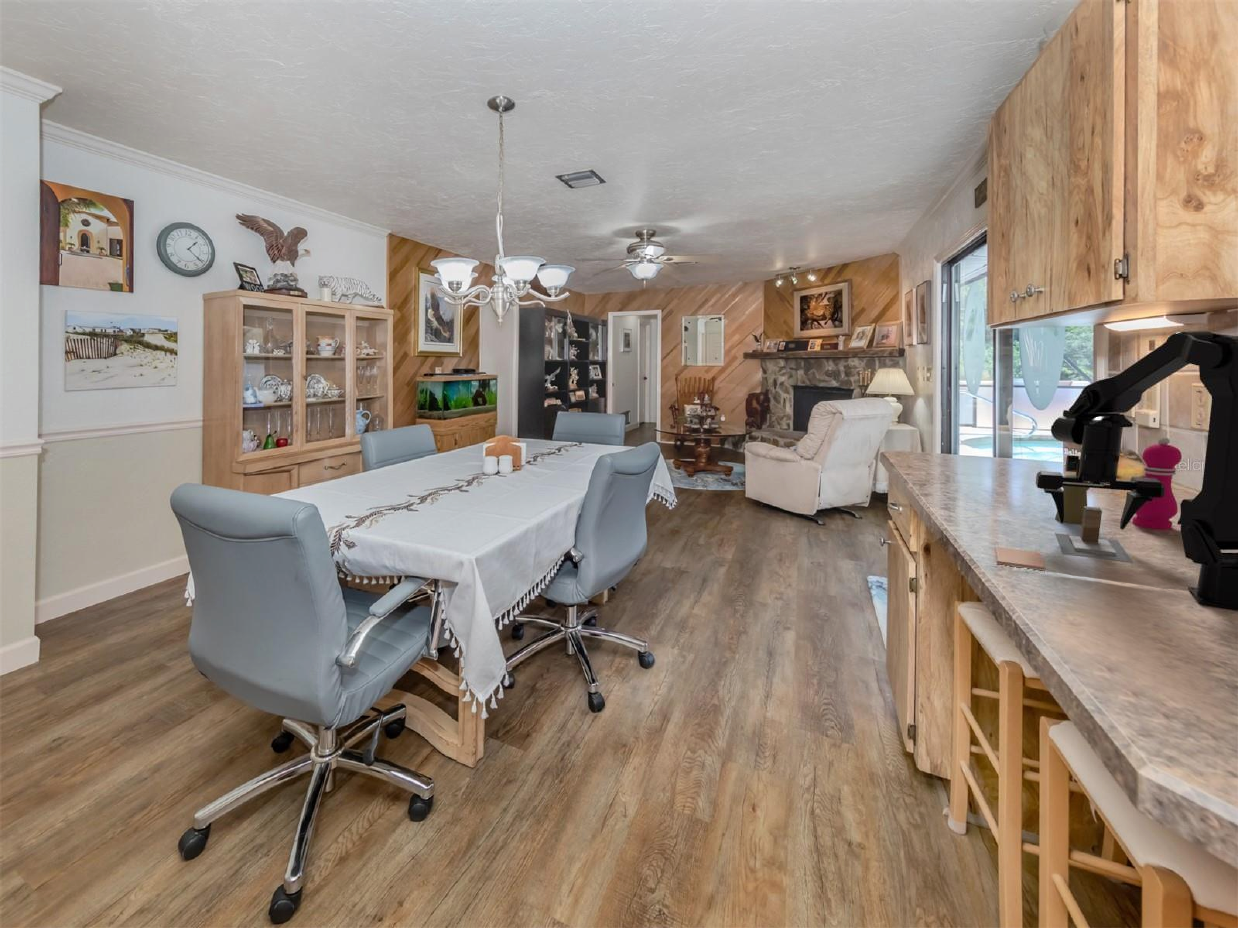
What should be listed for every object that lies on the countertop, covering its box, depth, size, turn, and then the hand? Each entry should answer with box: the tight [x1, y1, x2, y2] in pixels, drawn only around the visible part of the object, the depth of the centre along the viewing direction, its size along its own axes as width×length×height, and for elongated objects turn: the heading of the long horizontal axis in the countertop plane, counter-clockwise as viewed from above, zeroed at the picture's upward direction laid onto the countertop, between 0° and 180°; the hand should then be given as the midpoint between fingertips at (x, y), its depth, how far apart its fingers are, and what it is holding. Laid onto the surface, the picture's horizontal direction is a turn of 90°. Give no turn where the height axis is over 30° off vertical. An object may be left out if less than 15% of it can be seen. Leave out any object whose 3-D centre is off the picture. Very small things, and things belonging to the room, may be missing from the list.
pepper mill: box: [1131, 436, 1182, 531], centre depth 119 cm, size 7×7×20 cm
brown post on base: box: [1068, 505, 1116, 556], centre depth 108 cm, size 9×6×7 cm, turn 147°
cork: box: [1054, 474, 1090, 525], centre depth 125 cm, size 6×6×11 cm
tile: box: [994, 546, 1046, 573], centre depth 103 cm, size 1×7×9 cm
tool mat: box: [1054, 532, 1134, 564], centre depth 108 cm, size 15×10×1 cm, turn 146°
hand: (1090, 525), depth 110 cm, fingers open, 9 cm apart
